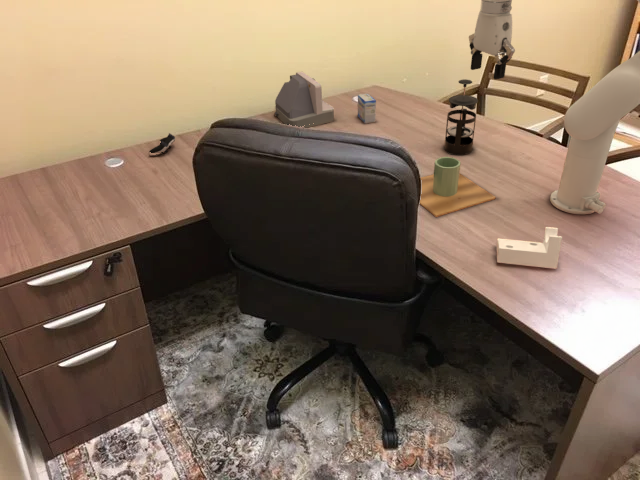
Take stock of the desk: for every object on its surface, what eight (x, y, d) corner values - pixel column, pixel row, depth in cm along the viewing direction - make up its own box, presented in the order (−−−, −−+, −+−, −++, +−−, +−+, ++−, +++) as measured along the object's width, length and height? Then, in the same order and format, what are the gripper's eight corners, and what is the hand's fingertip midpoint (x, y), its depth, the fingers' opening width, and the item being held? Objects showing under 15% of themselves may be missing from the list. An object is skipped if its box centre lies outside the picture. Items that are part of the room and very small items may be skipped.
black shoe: (157, 163, 185) (167, 150, 181) (146, 154, 183) (157, 141, 180) (169, 149, 193) (179, 137, 190) (159, 141, 192) (169, 128, 188)
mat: (495, 199, 150) (495, 197, 150) (436, 217, 144) (436, 215, 144) (452, 170, 166) (452, 168, 165) (397, 185, 159) (397, 184, 159)
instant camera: (337, 123, 200) (336, 84, 192) (283, 131, 196) (279, 92, 188) (322, 104, 217) (320, 67, 209) (272, 112, 213) (268, 74, 205)
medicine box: (357, 116, 205) (357, 94, 200) (368, 114, 206) (368, 92, 201) (364, 124, 199) (364, 101, 194) (376, 122, 200) (376, 99, 195)
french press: (470, 157, 172) (479, 87, 159) (441, 154, 175) (447, 85, 162) (474, 142, 181) (483, 75, 168) (446, 139, 184) (452, 73, 171)
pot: (462, 192, 153) (465, 164, 148) (441, 198, 151) (444, 170, 146) (447, 182, 158) (450, 154, 153) (427, 188, 156) (430, 160, 151)
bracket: (552, 257, 128) (557, 227, 126) (556, 268, 122) (562, 237, 119) (495, 251, 131) (499, 222, 129) (497, 262, 125) (501, 231, 122)
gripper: (531, 11, 132) (519, 79, 142) (485, -1, 145) (477, 63, 155) (506, 15, 129) (496, 84, 139) (462, 3, 143) (456, 67, 152)
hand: (486, 73), depth 147 cm, fingers open, 9 cm apart
